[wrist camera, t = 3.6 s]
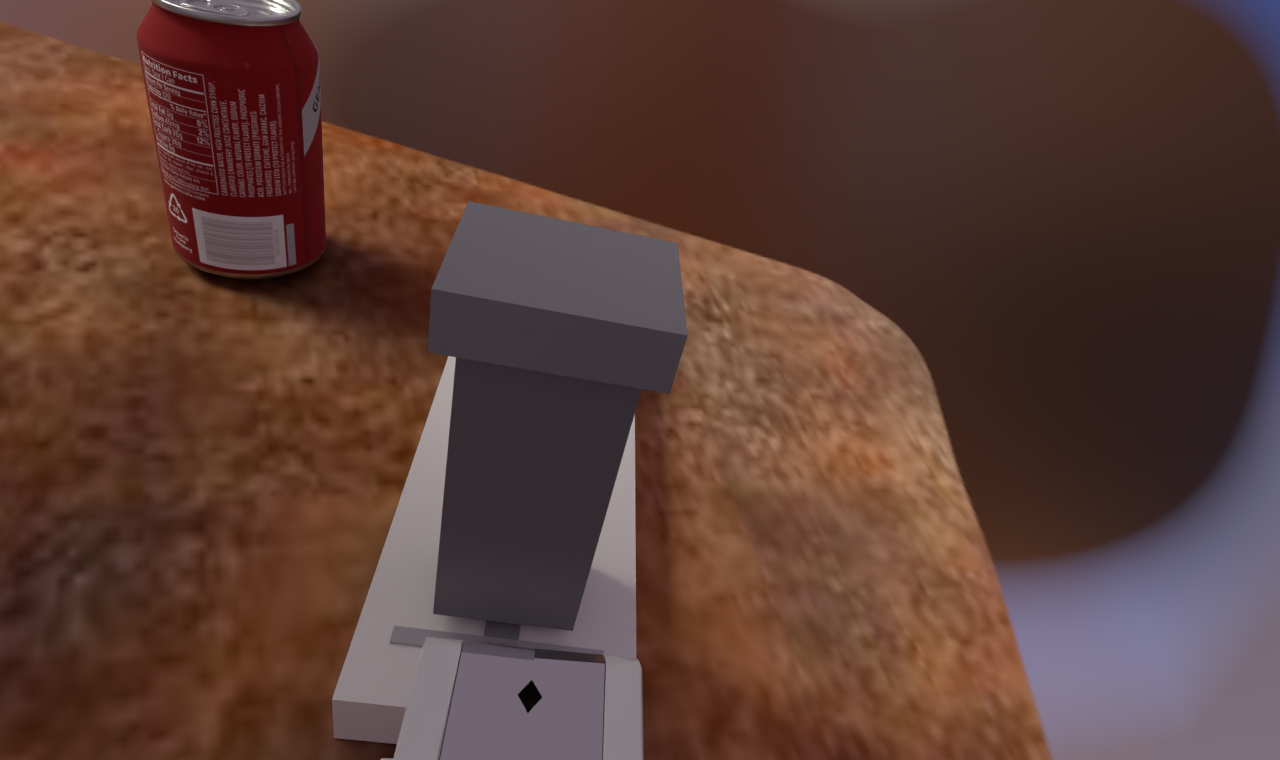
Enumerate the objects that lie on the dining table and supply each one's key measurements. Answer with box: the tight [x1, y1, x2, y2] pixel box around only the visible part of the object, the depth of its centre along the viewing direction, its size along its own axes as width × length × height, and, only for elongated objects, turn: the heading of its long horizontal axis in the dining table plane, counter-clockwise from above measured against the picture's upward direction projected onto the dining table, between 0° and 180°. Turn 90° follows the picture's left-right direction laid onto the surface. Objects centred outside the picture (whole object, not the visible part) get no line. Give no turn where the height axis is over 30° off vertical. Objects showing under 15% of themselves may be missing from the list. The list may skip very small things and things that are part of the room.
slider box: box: [332, 356, 636, 744], centre depth 30 cm, size 24×8×2 cm, turn 1°
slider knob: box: [427, 201, 687, 631], centre depth 19 cm, size 4×5×11 cm
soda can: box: [137, 0, 326, 280], centre depth 34 cm, size 7×7×12 cm
